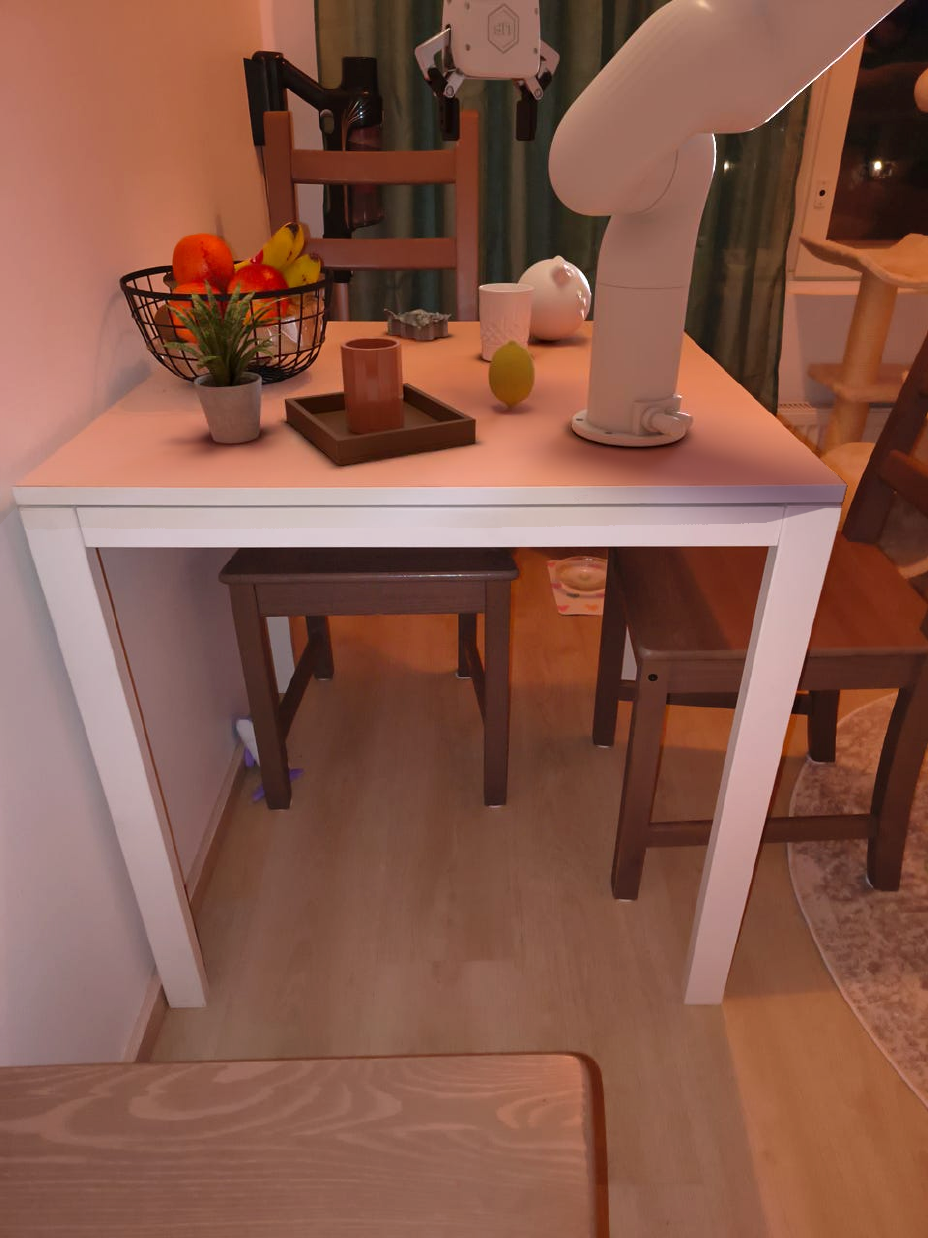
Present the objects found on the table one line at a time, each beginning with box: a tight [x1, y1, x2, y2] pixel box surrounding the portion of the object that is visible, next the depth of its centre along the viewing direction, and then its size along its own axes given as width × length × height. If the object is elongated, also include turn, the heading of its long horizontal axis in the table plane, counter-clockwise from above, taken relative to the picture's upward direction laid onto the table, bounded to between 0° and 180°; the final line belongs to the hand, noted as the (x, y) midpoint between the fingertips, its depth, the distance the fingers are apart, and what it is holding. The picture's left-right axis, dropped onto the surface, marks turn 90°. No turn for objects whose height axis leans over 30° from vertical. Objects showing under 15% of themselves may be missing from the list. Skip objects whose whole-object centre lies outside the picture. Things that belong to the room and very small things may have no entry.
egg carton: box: [382, 308, 452, 342], centre depth 139 cm, size 11×8×4 cm
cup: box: [340, 336, 404, 434], centre depth 90 cm, size 6×6×9 cm
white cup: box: [478, 282, 533, 362], centre depth 122 cm, size 8×8×10 cm
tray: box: [284, 382, 477, 467], centre depth 92 cm, size 18×16×3 cm
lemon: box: [488, 341, 536, 409], centre depth 99 cm, size 6×6×8 cm
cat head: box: [517, 255, 592, 342], centre depth 133 cm, size 15×13×12 cm
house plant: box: [161, 278, 294, 444], centre depth 86 cm, size 14×14×16 cm
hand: (488, 140), depth 93 cm, fingers open, 9 cm apart
